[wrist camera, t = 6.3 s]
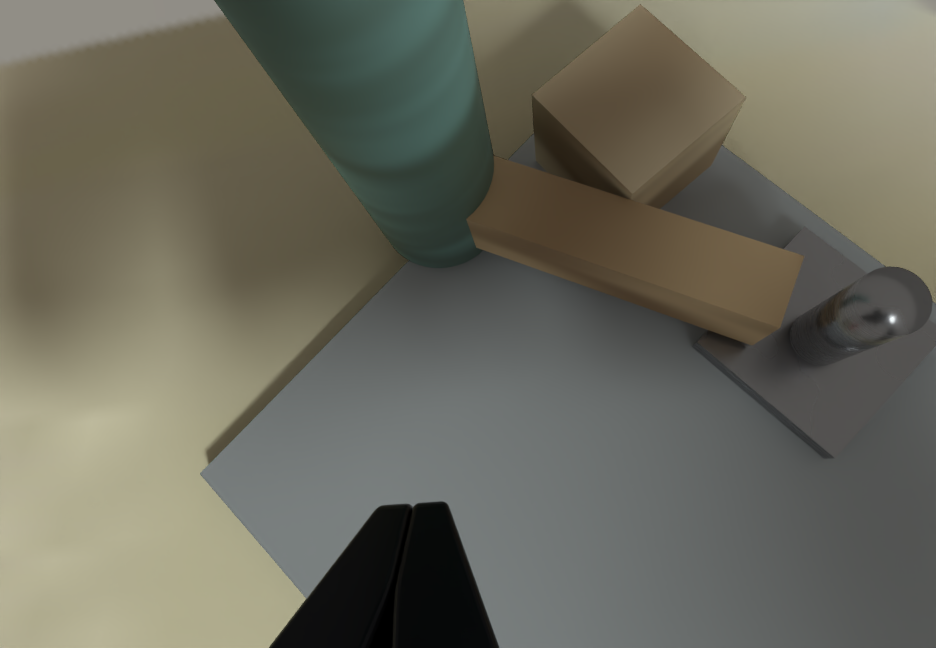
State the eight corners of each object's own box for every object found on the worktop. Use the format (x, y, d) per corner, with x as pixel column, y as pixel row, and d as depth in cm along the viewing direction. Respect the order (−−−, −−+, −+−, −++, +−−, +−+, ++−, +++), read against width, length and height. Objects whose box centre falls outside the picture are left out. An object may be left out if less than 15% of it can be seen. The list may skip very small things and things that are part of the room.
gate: (774, 260, 15) (1340, -279, 4) (732, 382, 15) (1245, 130, 4) (412, 142, 17) (155, -448, 6) (364, 247, 16) (-6, -188, 6)
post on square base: (931, 338, 14) (1059, 294, 11) (823, 458, 14) (917, 454, 11) (795, 235, 15) (871, 160, 12) (691, 347, 15) (735, 307, 11)
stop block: (711, 165, 16) (746, 97, 13) (617, 244, 16) (632, 193, 13) (625, 85, 17) (640, 4, 14) (536, 160, 17) (531, 94, 14)
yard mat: (1127, 461, 14) (1148, 461, 13) (665, 1003, 13) (669, 1023, 12) (605, 70, 17) (606, 59, 17) (210, 473, 16) (199, 473, 16)
